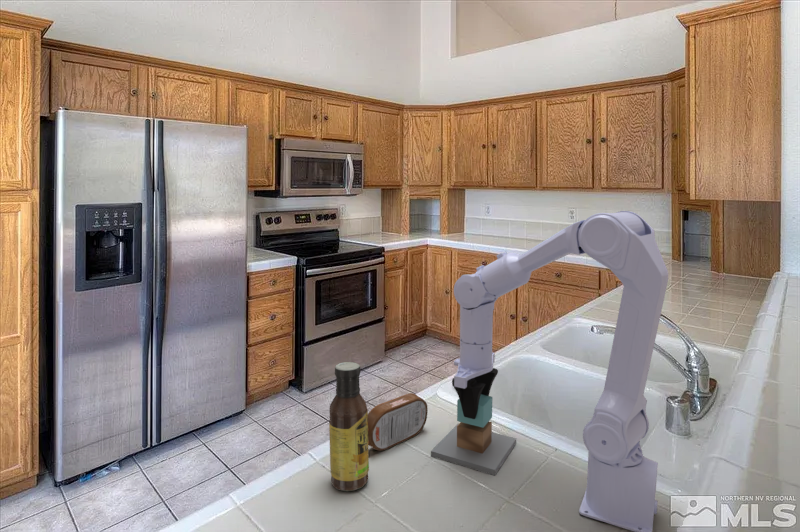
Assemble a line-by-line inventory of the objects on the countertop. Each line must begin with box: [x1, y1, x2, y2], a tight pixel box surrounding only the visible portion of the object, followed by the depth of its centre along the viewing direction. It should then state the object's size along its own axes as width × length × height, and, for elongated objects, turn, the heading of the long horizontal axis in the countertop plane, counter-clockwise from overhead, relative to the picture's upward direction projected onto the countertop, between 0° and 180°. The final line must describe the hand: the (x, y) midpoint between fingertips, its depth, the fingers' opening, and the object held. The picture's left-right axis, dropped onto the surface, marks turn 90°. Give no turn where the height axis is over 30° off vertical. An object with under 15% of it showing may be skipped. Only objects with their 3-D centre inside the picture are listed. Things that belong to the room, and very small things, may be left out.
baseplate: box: [430, 423, 517, 476], centre depth 88 cm, size 12×12×1 cm
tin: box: [368, 392, 428, 452], centre depth 90 cm, size 15×3×8 cm, turn 132°
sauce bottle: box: [328, 361, 370, 492], centre depth 77 cm, size 6×6×20 cm
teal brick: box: [456, 394, 493, 428], centre depth 86 cm, size 5×4×4 cm
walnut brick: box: [456, 421, 493, 454], centre depth 87 cm, size 5×4×4 cm
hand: (475, 411), depth 87 cm, fingers closed on teal brick, 4 cm apart
